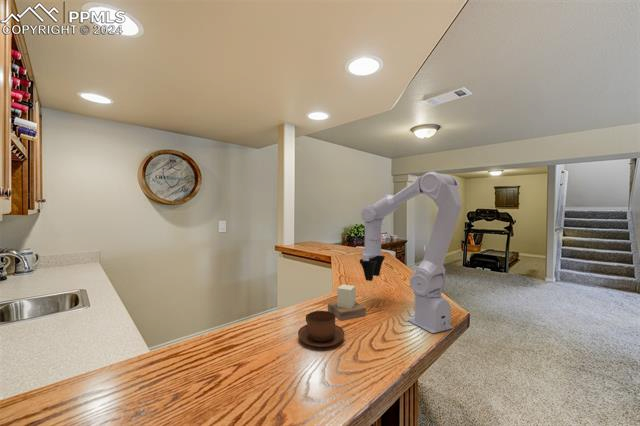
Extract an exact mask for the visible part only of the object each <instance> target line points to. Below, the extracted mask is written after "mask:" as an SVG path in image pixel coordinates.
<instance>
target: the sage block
mask: <svg viewBox="0 0 640 426" xmlns="http://www.w3.org/2000/svg"><path fill="white" fill-rule="evenodd" d="M336 291H337V293H336V294H337V299H336V302H338V307H342V308H348V309H351V308H352V307H353V306H354V305H355V302H356V285H350V284H341V285H340V286H338V287H337V289H336Z"/></svg>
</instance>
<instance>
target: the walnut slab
mask: <svg viewBox="0 0 640 426" xmlns="http://www.w3.org/2000/svg"><path fill="white" fill-rule="evenodd" d="M327 311H328V312H331V313H333V314H334V315H335V318H337V319H338V320H339V321H341V322H343V321H344V322H345V321H347V320H353V319H358V318H364V317H367V308H366V306H363V305H361V304H359V303H358V302H357V301H355V305H354V306H353V307H352V308H351V309H348V308H342V307H338V302H337V301H333V302H332V301H331V302H328V303H327Z"/></svg>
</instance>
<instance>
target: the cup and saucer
mask: <svg viewBox="0 0 640 426" xmlns="http://www.w3.org/2000/svg"><path fill="white" fill-rule="evenodd" d="M305 322H306V324H305V325H303V326H301V327H300V328H299V329H298V332H297V336H298V338H299V339H300V340H301V341H302V343H304V344H306V345H308V346H311V347H315V348H326V347H331V346H332V347H333V346H335V345H337V344H339V343H340V342H342V341H343V339H344V337H345V330H344V329H343V328H342V327H341V326H339V325H337V324H336V317H335V315H334V314H333V313H331V312H329V311H328V310H315V311H312V312H309V313H307V314H305Z"/></svg>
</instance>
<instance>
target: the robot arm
mask: <svg viewBox="0 0 640 426" xmlns="http://www.w3.org/2000/svg"><path fill="white" fill-rule="evenodd" d="M459 188H460V184H459V182H458V181H457V180H456V178H454V176H453V175H451V174H447V173H446V174H445V173H440V172H435V171H428V172H426V173H424V174H423V175H420V176H419V177H417V178H416V179H415V180H414V181H413V182H411V183H410V184H409V185H407V186H406V187H404V188H403V189H401V190H399V192H397V193H395V194H394V195H393V194H384V195H383V196H382V198H381V199H380V200H378V201H374V202H373V203H372V204H371V205H369V204H368V205H364V207H362V210H361V212H360V216H361V219H362V220H363V221H364V250H362V251H361V252H360V253H361V254H362V258H360V259H359V263H360V265H361V268H362V269H363V273H364V278H365V281H368V282H372V281H373V279H374V277H379V276H380V274H381V270H382V269H381V268H382V265H383V262H384V261H385V258H386V257H385V255H382V253H383V252H382V225H383V221H384V219H385V217H386V216H389V215H390V214H392V213H394V212H395V211H398V210H399V208H400V205H401V204H403V203H404V202H407V201H409V200H410V199H413V198H415V197H417V196H419V195H422V194H423V195H426V196H428V197H429V198H430V199H431V200H432V201H433V202H434V203H435V205H436V206H437V213H436V217H435V220H434V223H433V227H432V230H431V233H430V237H429V239H428V243H427V247H426V250H425V253H424V257H423V260H422V261H421V262H420V263H419V264H418V266H416V269H415V271H414V273H413V274H412V275H411V276H410V278H409V286H410V288H411V290H412V291H413V294H414V317H411V318H408V319H407V321H408V322H410V323H412V324H413V325H415V326H417V327H419V328H421V329H423V330H425V331H426V332H429V333H431V334H436V333H439V332H443V331H447V330H450V329H451V330H452V329H453V325H451V317H452V314H451V313H452V312H451V311H452V310H451V309H452V308H451V304H450V302H449V301H448V300H447V299H445V298H443V296H442V288H444V286H445V285H446V277H445V275H446V268H445V266H444V263H445V261H446V258H447V254H448V251H449V247H450V245H451V242H452V239H453V235H454V233H455V229H456V226H457V223H458V221H459V217H460V214H461V211H462V206H463V204H462V200H461V199H462V198H461V196H460V195H461V194H460V191H459Z"/></svg>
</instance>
